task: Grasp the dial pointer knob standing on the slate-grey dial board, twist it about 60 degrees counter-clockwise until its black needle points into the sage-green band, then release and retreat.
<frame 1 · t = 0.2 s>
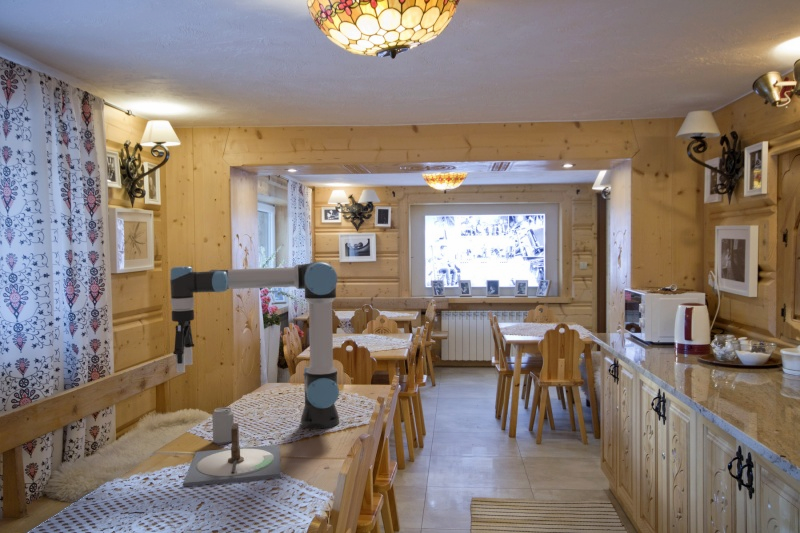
hand: (184, 368, 216), 28 cm above the table, fingers open, 13 cm apart
dial pointer knob: (234, 448, 190), point 7 cm above the table, hinge at 0.0°
can: (223, 442, 220), on the table
dial board: (236, 465, 195), on the table
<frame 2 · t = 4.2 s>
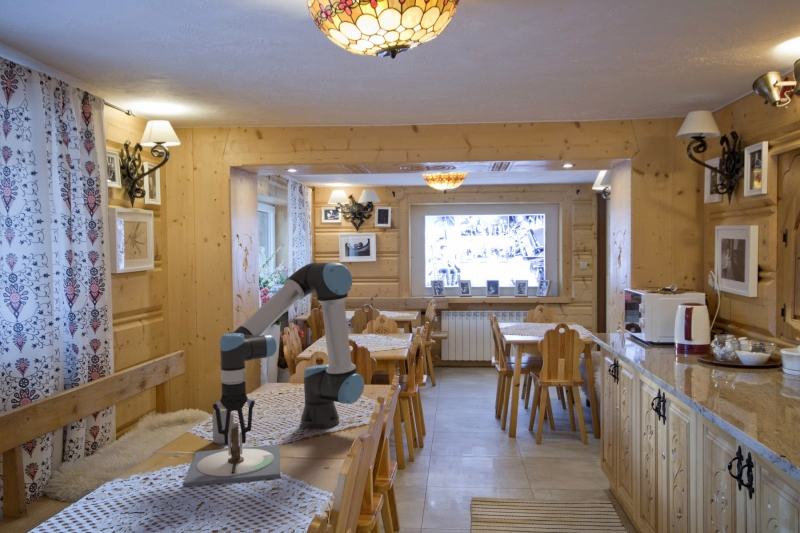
hand: (235, 453, 195), 4 cm above the table, fingers closed on dial pointer knob, 3 cm apart
dial pointer knob: (234, 448, 190), point 7 cm above the table, hinge at 0.0°, touching gripper
everything else where it was.
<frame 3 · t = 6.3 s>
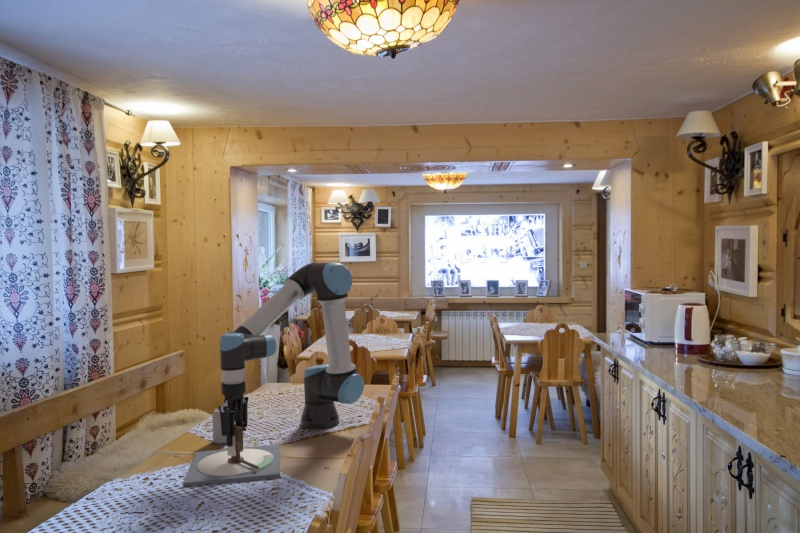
hand: (235, 453, 195), 4 cm above the table, fingers closed on dial pointer knob, 3 cm apart
dial pointer knob: (243, 446, 191), point 7 cm above the table, hinge at 33.8°, touching gripper
everything else where it was.
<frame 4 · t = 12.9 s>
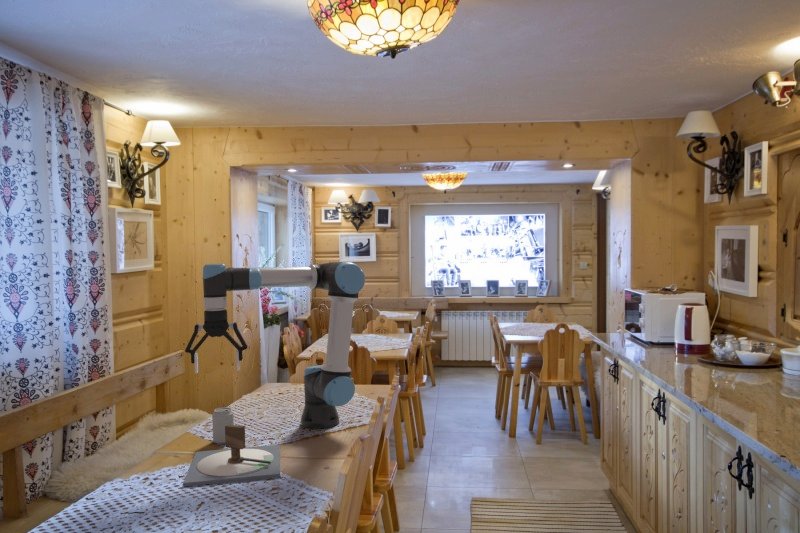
hand: (217, 371, 204), 29 cm above the table, fingers open, 13 cm apart
dial pointer knob: (248, 445, 193), point 7 cm above the table, hinge at 57.3°
everything else where it was.
at the end: dial pointer knob at +57° (first picture: +0°); the gripper is holding nothing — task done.
